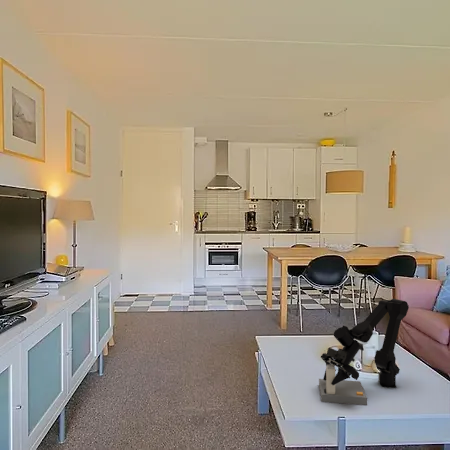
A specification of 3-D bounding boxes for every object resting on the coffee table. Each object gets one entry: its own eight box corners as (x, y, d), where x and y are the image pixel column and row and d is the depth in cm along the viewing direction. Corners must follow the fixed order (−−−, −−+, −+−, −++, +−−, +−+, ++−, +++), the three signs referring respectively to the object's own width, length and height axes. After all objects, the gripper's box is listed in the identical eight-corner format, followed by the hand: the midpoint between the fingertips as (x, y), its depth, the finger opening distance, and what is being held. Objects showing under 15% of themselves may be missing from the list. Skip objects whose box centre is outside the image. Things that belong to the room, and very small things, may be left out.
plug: (334, 395, 168) (334, 364, 168) (335, 399, 165) (335, 367, 164) (326, 395, 169) (326, 364, 168) (326, 398, 165) (326, 367, 165)
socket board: (360, 387, 177) (360, 379, 177) (367, 405, 162) (367, 395, 161) (318, 385, 180) (318, 376, 180) (321, 401, 164) (321, 392, 164)
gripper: (324, 334, 176) (303, 363, 172) (353, 347, 159) (331, 379, 155) (337, 349, 180) (318, 378, 175) (368, 364, 163) (347, 395, 158)
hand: (327, 382), depth 166 cm, fingers closed on plug, 5 cm apart
